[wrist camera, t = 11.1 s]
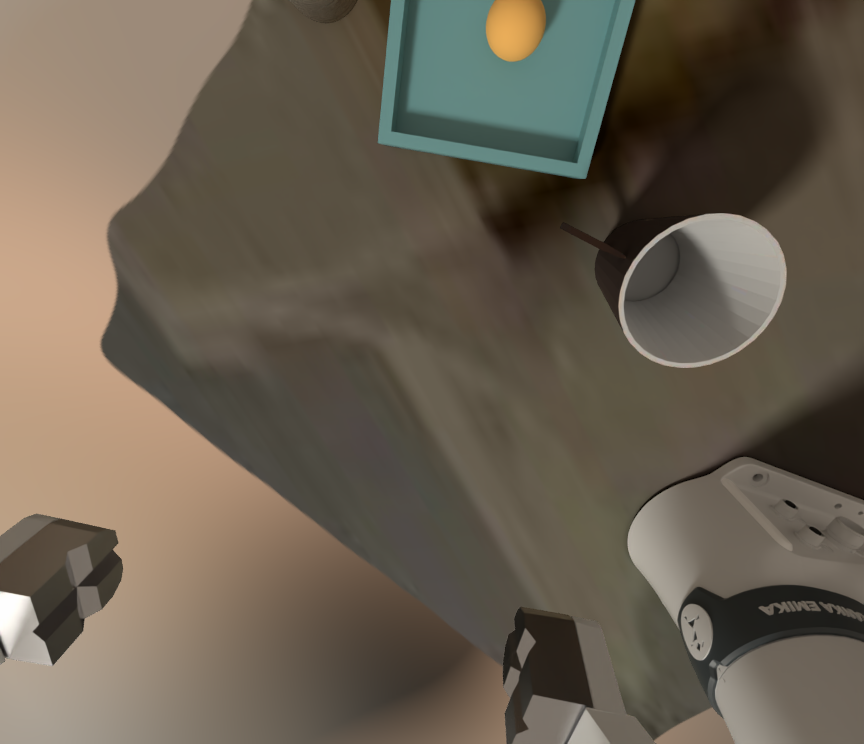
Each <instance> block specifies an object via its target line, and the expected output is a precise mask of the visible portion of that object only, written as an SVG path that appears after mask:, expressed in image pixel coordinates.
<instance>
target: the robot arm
mask: <svg viewBox="0 0 864 744" xmlns="http://www.w3.org/2000/svg"><path fill="white" fill-rule="evenodd" d="M756 474H757V475H756ZM754 475H756V476H754ZM117 544H118V540H117V536H116V532H115V531H114V530H110V529H106V528H101V527H97V526H92V525H88V524H83V523H78V522H74V521H69V520H65V519H60V518H55V517H50V516H45V515H40V514H34V515H31V516H28V517H26V518H24V519H22V520H21V521H20V522H19V523H17V524H16V525H14V526H13V527H12V528H10V529H9V530H8V531H6V532H5V533H4V534H2V535H1V536H0V664H2V663H3V662H5V658H7V659H13V660H19V661H26V662H31V663H37V664H43V665H50V666H53V665H54V664H55V663H56V662H57V660H58V659H59V658H60V657H61V656H62V655H63V654H64V652H65V651H66V650H67V649H68V648H69V646H70V645H71V644H72V643H73V642H74V641H75V639H77V637H78V636H79V635H80V634H81V633H82V632H83V628H84V619H85V618H86V617H88V616H90V615H92V614H94V613H96V612H98V611H100V610H101V609H102V608H103V607H104V606H105V605H106V604H107V603H108V601H109V600H110V599H111V598H112V597H113V595H114V593H115V591H116V589H117V587H118V585H119V583H120V581H121V578H122V572H123V565H122V560H121V558H120V557H119V556H118V555H117V554H116V553H115V552H114V551H113V548H114V547H115V546H116V545H117ZM628 550H629V554H630V557H631V559H632V561H633V563H634V564H635V566H636V567H637V568H638V569H639V571H640V572H641V573H642V574H643V575H644V577H645V578H646V579H647V580H648V582H649V583H650V585H651V586H652V587H653V589H654V590H655V592H656V593H657V595H658V596H659V598H660V600H661V601H662V603H663V605H664V606H665V607H666V609H667V610H668V612H669V613H670V615H671V617H672V618H673V620H674V622H675V623H676V625H677V627H678V628H679V630H680V633H681V636H682V639H683V642H684V645H685V648H686V651H687V654H688V657H689V659H690V661H691V664H692V666H693V668H694V670H695V672H696V675H697V677H698V679H699V681H700V683H701V685H702V687H703V689H704V691H705V693H706V695H707V697H708V700H709V702H710V704H711V705H712V707H713V709H714V710H715V711H716V712H717V713H718V714H719V715H720V716H721V717H722V718H723V719H724V720H725V722H726V724H727V727H728V729H729V731H730V733H731V735H732V737H733V739H734V742H735V744H864V500H862V499H859V498H856V497H854V496H851V495H848V494H846V493H843V492H840V491H838V490H835V489H832V488H830V487H827V486H824V485H822V484H819V483H817V482H814V481H811V480H809V479H806V478H803V477H801V476H798V475H795V474H793V473H790V472H787V471H785V470H782V469H779V468H777V467H774V466H771V465H769V464H766V463H763V462H761V461H758V460H755V459H753V458H749V457H740V458H737V459H734V460H732V461H730V462H728V463H727V464H725V465H723V466H722V467H720V468H719V469H717V470H716V471H714V472H713V473H711V474H708V475H706V476H703V477H700V478H696V479H693V480H689V481H686V482H683V483H680V484H678V485H675V486H673V487H671V488H669V489H667V490H665V491H663V492H662V493H660V494H658V495H657V496H656V497H654V498H653V499H652V500H650V501H649V502H648V503H647V504H646V505H645V506H644V507H643V508H642V509H641V510H640V512H639V513H638V514H637V516H636V517H635V519H634V521H633V523H632V525H631V527H630V530H629V534H628ZM514 626H515V630H514V631H512V632H511V633H509V634H508V638H507V641H506V644H505V650H504V657H503V688H504V689H505V691H506V692H507V694H508V696H509V697H510V701H509V703H508V706H507V709H506V711H505V726H506V742H507V744H656V743H655V742H654V740H653V739H652V738H651V737H650V735H649V734H648V733H647V732H646V730H645V729H644V728H643V726H642V725H641V724H640V723H639V721H638V720H637V719H636V718H635V717H634V716H630V715H626V712H625V708H624V705H623V701H622V698H621V694H620V691H619V687H618V684H617V680H616V677H615V673H614V670H613V666H612V663H611V659H610V656H609V652H608V649H607V645H606V642H605V638H604V635H603V631H602V628H601V626H600V624H599V623H598V622H597V621H594V620H589V619H584V618H578V617H573V616H569V615H565V614H560V613H554V612H548V611H543V610H537V609H531V608H526V607H519V609H518V610H517V612H516V614H515V617H514Z"/></svg>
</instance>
